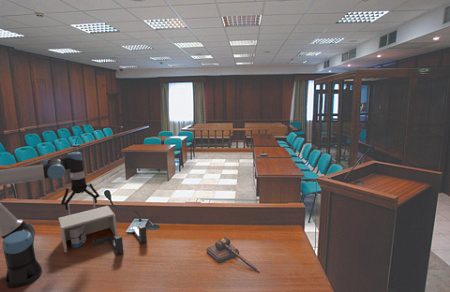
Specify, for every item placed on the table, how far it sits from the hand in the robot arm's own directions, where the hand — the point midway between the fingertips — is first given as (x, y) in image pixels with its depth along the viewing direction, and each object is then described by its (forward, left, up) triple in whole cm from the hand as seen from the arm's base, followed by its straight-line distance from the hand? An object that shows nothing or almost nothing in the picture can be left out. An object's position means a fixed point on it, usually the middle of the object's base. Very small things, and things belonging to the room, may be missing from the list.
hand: (82, 211), depth 157 cm
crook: (-8, -13, -23) cm, 28 cm away
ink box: (+4, +5, -24) cm, 25 cm away
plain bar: (+1, -31, -23) cm, 39 cm away
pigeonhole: (+9, 0, -23) cm, 25 cm away
